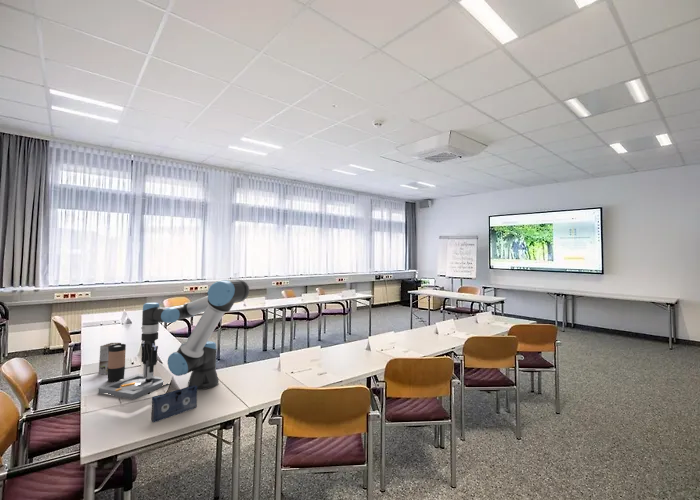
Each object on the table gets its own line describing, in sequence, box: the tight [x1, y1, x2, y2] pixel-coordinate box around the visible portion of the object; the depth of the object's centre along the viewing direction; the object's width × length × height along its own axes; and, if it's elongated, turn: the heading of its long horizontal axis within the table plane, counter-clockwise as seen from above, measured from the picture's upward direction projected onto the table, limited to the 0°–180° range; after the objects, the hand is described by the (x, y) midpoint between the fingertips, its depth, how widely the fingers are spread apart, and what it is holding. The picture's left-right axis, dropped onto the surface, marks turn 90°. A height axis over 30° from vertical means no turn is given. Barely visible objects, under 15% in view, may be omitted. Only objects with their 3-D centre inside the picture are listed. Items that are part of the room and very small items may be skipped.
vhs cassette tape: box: [150, 385, 198, 423], centre depth 143 cm, size 18×3×10 cm, turn 141°
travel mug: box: [107, 343, 127, 383], centre depth 178 cm, size 8×8×20 cm
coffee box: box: [98, 342, 122, 375], centre depth 194 cm, size 9×6×16 cm
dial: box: [120, 361, 152, 391], centre depth 167 cm, size 14×14×12 cm
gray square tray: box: [97, 373, 164, 400], centre depth 167 cm, size 22×22×4 cm
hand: (148, 377), depth 171 cm, fingers open, 4 cm apart
